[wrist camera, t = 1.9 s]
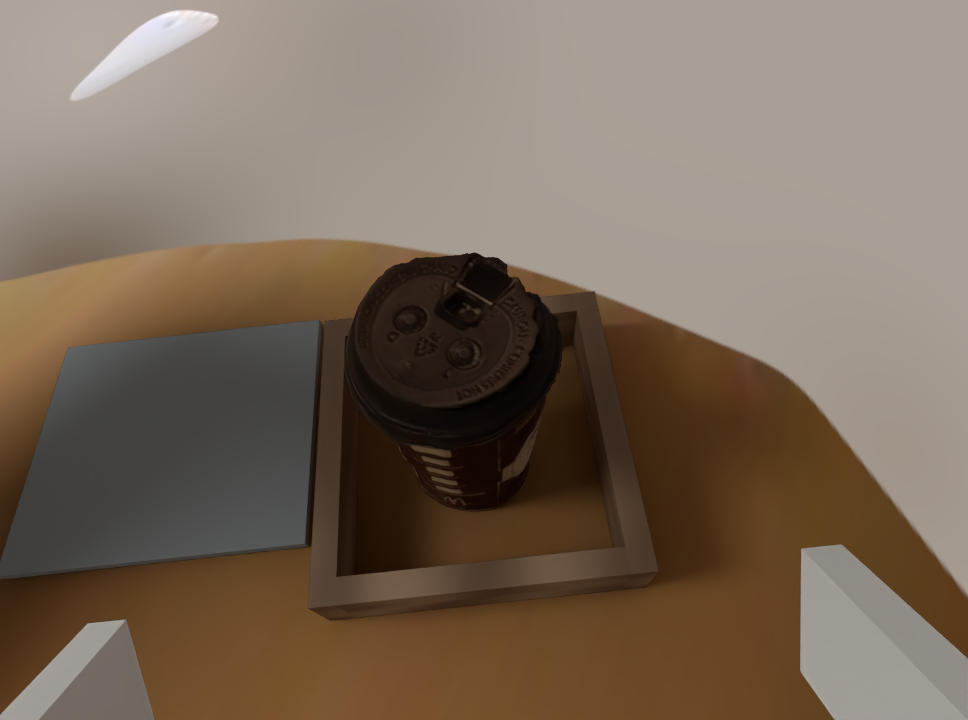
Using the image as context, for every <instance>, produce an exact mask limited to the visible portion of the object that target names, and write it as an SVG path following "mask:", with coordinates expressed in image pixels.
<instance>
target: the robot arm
mask: <svg viewBox="0 0 968 720" xmlns="http://www.w3.org/2000/svg"><path fill="white" fill-rule="evenodd" d="M800 672H801V673H802V674H803V676H804V677H805V679H806V680H807V681H808V683H809V684H810V686H811V687H812V688H813V690H814V691H815V693H816V694H817V696H818V697H819V698H820V700H821V701H822V703H823V704H824V705H825V707H826V708H827V710H828V711H829V713H830V714H831V715H832V717H833V718H834V720H968V658H966V657H965V656H964V655H963V654H962V653H961V652H960V651H959V650H958V649H956V648H955V647H954V646H953V645H952V644H951V643H950V642H949V641H948V640H947V639H945V638H944V637H943V636H942V635H941V634H940V633H939V632H938V631H937V630H935V629H934V628H933V627H932V626H931V625H930V624H929V623H928V622H927V621H926V620H924V619H923V618H922V617H921V616H920V615H919V614H918V613H917V612H916V611H914V610H913V609H912V608H911V607H910V606H909V605H908V604H907V603H906V602H905V601H903V600H902V599H901V598H900V597H899V596H898V595H897V594H896V593H895V592H893V591H892V590H891V589H890V588H889V587H888V586H887V585H886V584H885V583H884V582H882V581H881V580H880V579H879V578H878V577H877V576H876V575H875V574H874V573H873V572H871V571H870V570H869V569H868V568H867V567H866V566H865V565H864V564H863V563H861V562H860V561H859V560H858V559H857V558H856V557H855V556H854V555H853V554H852V553H850V552H849V551H848V550H847V549H846V548H845V547H844V546H843V545H842V544H841V545H831V546H822V547H812V548H803V549H801V653H800ZM0 720H154V716H153V712H152V709H151V705H150V702H149V698H148V695H147V691H146V688H145V684H144V681H143V677H142V673H141V670H140V666H139V663H138V659H137V656H136V652H135V649H134V645H133V641H132V638H131V634H130V631H129V627H128V624H127V620H116V621H107V622H97V623H88V624H87V625H86V626H85V627H84V628H83V629H82V630H81V631H80V632H79V633H78V634H77V635H76V636H75V637H74V638H73V639H72V640H71V641H70V643H69V644H68V645H67V646H66V647H65V648H64V649H63V650H62V651H61V652H60V653H59V654H58V655H57V656H56V657H55V658H54V659H53V660H52V661H51V662H50V663H49V664H48V665H47V666H46V668H45V669H44V670H43V671H42V672H41V673H40V674H39V675H38V676H37V677H36V678H35V679H34V680H33V681H32V682H31V683H30V684H29V685H28V686H27V687H26V688H25V689H24V690H23V692H22V693H21V694H20V695H19V696H18V697H17V698H16V699H15V700H14V701H13V702H12V703H11V704H10V705H9V706H8V707H7V708H6V709H5V710H4V711H3V712H2V713H1V714H0Z"/></svg>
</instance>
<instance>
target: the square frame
mask: <svg viewBox="0 0 968 720" xmlns="http://www.w3.org/2000/svg"><path fill="white" fill-rule="evenodd" d="M540 299H541V301H542V302H543V303H544V304H545V305H546V306H547V307H548V308H549V309H550V312H551V313H552V314H553V315H555V316H556V317H557V318H558V321H559V323H558V328H559V330H560V331H561V336H562V346H565V345H573V346H574V351H575V357H576V362H577V367H578V372H579V377H580V382H581V387H582V392H583V397H584V403H585V408H586V413H587V418H588V423H589V428H590V433H591V438H592V444H593V449H594V454H595V459H596V464H597V469H598V474H599V479H600V484H601V490H602V495H603V500H604V505H605V510H606V515H607V520H608V525H609V530H610V536H611V541H612V546H613V548H606V549H596V550H587V551H577V552H568V553H559V554H549V555H540V556H530V557H521V558H512V559H502V560H493V561H483V562H474V563H465V564H455V565H446V566H436V567H427V568H417V569H408V570H399V571H389V572H380V573H370V574H361V575H356V538H357V488H358V439H359V408H358V406H357V404H356V402H355V401H354V400H353V398H352V395H351V390H350V386H349V384H348V381H347V378H346V372H345V344H346V341H347V337H348V334H349V331H350V328H351V325H352V322H353V320H354V318H348V319H339V320H330V321H325V325H324V342H323V360H322V377H321V394H320V411H319V429H318V446H317V463H316V481H315V498H314V515H313V533H312V550H311V567H310V584H309V602H308V609H310V610H312V611H314V612H316V613H318V614H319V615H321V616H323V617H325V618H327V619H329V620H330V621H331V620H340V619H350V618H359V617H369V616H378V615H388V614H397V613H407V612H416V611H426V610H435V609H444V608H454V607H463V606H473V605H482V604H492V603H501V602H511V601H520V600H530V599H539V598H549V597H558V596H568V595H577V594H587V593H596V592H605V591H615V590H624V589H634V588H643V587H646V586H647V585H648V584H649V583H650V581H651V580H652V579H653V578H654V577H655V575H656V574H657V573H658V572H659V570H658V566H657V561H656V557H655V553H654V548H653V544H652V540H651V535H650V531H649V527H648V522H647V518H646V513H645V509H644V505H643V500H642V496H641V492H640V487H639V483H638V479H637V474H636V470H635V466H634V461H633V457H632V453H631V448H630V444H629V439H628V435H627V431H626V426H625V422H624V418H623V413H622V409H621V405H620V400H619V396H618V392H617V387H616V383H615V379H614V374H613V370H612V365H611V361H610V357H609V352H608V348H607V344H606V339H605V335H604V331H603V326H602V322H601V318H600V313H599V309H598V304H597V300H596V296H595V291H593V292H584V293H575V294H565V295H556V296H547V297H540Z"/></svg>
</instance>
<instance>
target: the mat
mask: <svg viewBox="0 0 968 720" xmlns="http://www.w3.org/2000/svg"><path fill="white" fill-rule="evenodd" d="M321 333H322V324H321V322H320V320H312V321H303V322H294V323H285V324H276V325H267V326H258V327H249V328H240V329H231V330H222V331H213V332H203V333H194V334H185V335H176V336H167V337H158V338H149V339H140V340H131V341H122V342H113V343H104V344H95V345H86V346H77V347H68V349H67V352H66V355H65V358H64V361H63V364H62V367H61V371H60V374H59V377H58V380H57V383H56V386H55V390H54V393H53V396H52V399H51V402H50V405H49V409H48V412H47V415H46V418H45V421H44V424H43V428H42V431H41V434H40V437H39V440H38V443H37V447H36V450H35V453H34V456H33V459H32V462H31V466H30V469H29V472H28V475H27V478H26V481H25V485H24V488H23V491H22V494H21V497H20V500H19V504H18V507H17V510H16V513H15V516H14V519H13V523H12V526H11V529H10V532H9V535H8V538H7V542H6V545H5V548H4V551H3V554H2V557H1V560H0V578H1V579H11V578H20V577H30V576H39V575H48V574H58V573H67V572H76V571H86V570H95V569H104V568H114V567H123V566H133V565H142V564H151V563H161V562H170V561H179V560H189V559H198V558H207V557H217V556H226V555H236V554H245V553H254V552H264V551H273V550H282V549H292V548H301V547H309V531H310V515H311V498H312V482H313V465H314V448H315V432H316V415H317V399H318V382H319V366H320V349H321Z"/></svg>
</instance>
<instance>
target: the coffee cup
mask: <svg viewBox="0 0 968 720" xmlns="http://www.w3.org/2000/svg"><path fill="white" fill-rule="evenodd" d="M558 323H559V321H558V318H557V317H556V316H555V315H553V314H552V313H551V312H550V309H549V308H548V307H547V306H546V305H545V304H544V303H543V302H542V301H541V299H540V297H539V295H538V294H532V293H530V292H526V291H525V288H524V286H523V285H522V283H521V281H520V279H519V278H518V277H513V278H512V277H509V276H508V274H507V264H505V263H504V262H503V261H501V260H500V259H498V258H495V257H483V256H481V255H480V254H477V253H471V254H468V253H467V254H463V255H454V256H444V257H425V258H415V259H414V260H411V261H410V262H408V263H401V264H399V265H394V266H392V267H391V268H389V269H388V270H386V271H385V272H384V274H383V275H382V276H381V277H378V279H377V280H376V281H375V283H374V284H373V285H372V286H371V287H370V289H369V291H368V292H367V294H366V295H365V297H364V298H363V300H362V301H361V303H360V305H359V306H358V309H357V312H356V314H355V317H354V320H353V322H352V325H351V328H350V331H349V334H348V337H347V341H346V344H345V372H346V378H347V381H348V384H349V386H350V390H351V395H352V398H353V400H354V401H355V402H356V404H357V406H358V408H359V409H360V411H361V412H362V413H363V415H364V416H365V418H366V419H367V421H368V422H369V423H370V424H371V425H372V426H373V427H375V428H376V429H377V430H379V431H380V432H381V433H383V434H384V435H385V436H387V437H389V438H391V439H392V440H394V441H396V442H397V444H398V446H399V450H400V452H401V455H402V456H403V458H404V459H405V460H406V461H407V462H409V463H410V464H411V465H412V467H413V470H414V472H415V474H416V475H417V478H418V483H419V485H420V487H421V488H422V489H423V491H424V492H425V493H426V494H427V495H428V496H430V497H431V498H432V499H434V500H435V501H437V502H439V503H441V504H443V505H445V506H447V507H450V508H454V509H458V510H463V511H470V512H472V511H484V510H488V509H493V508H497V507H499V506H501V505H502V504H504V503H505V502H506V501H507V500H509V499H510V498H511V497H512V496H513V495H514V494H515V493H516V492H517V491H518V490H519V489H520V487H521V486H522V484H523V483H524V480H525V478H526V476H527V473H528V466H529V458H530V454H531V451H532V449H533V446H534V443H535V439H536V435H537V431H538V428H539V425H540V422H541V416H542V412H543V408H544V405H545V401H546V394H547V393H548V391H549V390H550V388H551V386H552V384H553V383H554V382H555V379H556V376H557V374H558V373H559V372H560V367H561V361H562V351H563V348H562V336H561V331H560V330H559V328H558Z"/></svg>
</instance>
